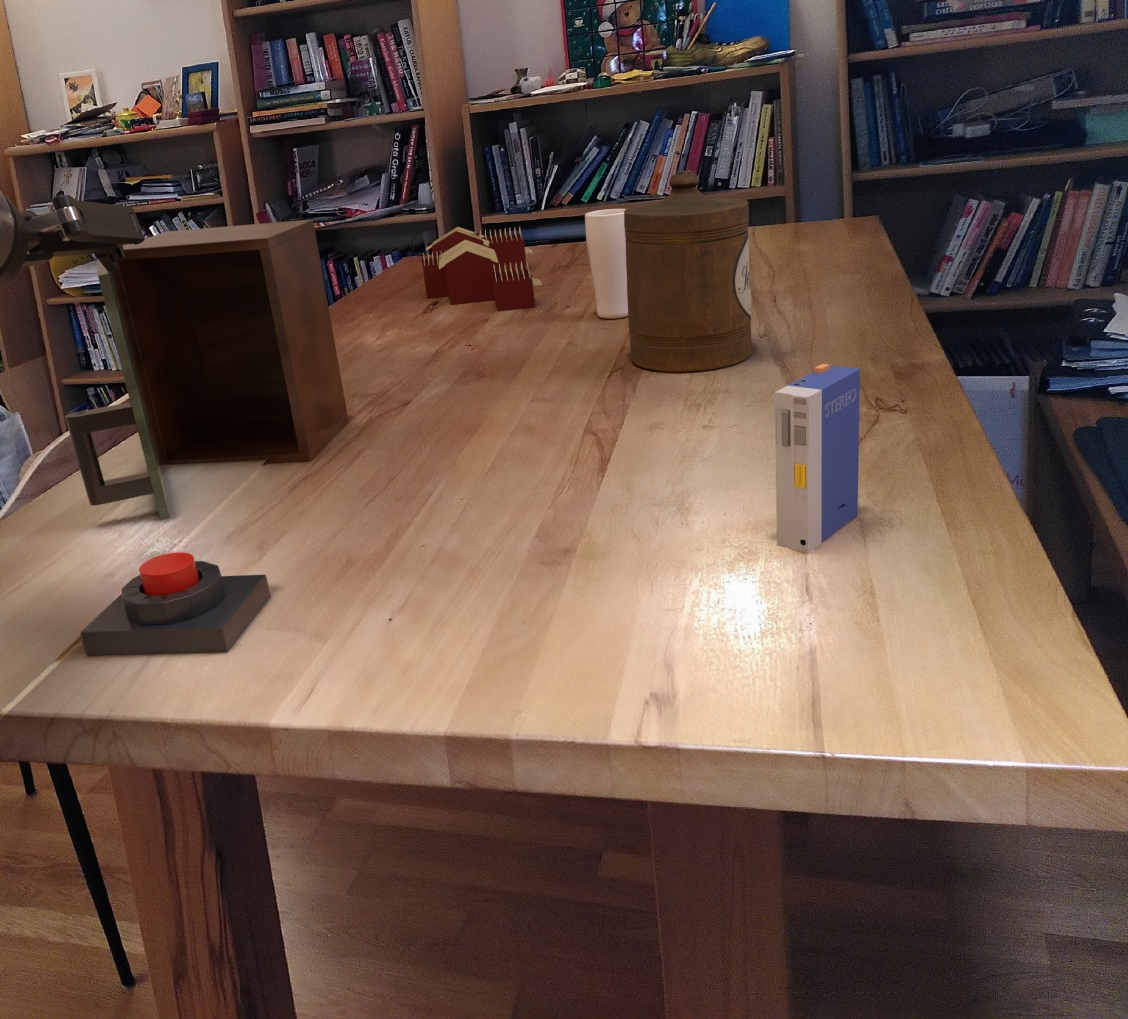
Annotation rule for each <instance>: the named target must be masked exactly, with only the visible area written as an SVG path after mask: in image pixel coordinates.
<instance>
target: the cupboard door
mask: <svg viewBox="0 0 1128 1019" xmlns="http://www.w3.org/2000/svg"><path fill="white" fill-rule="evenodd" d="M96 260H97V278H98V282H99V286H100V290H101V294H102V297H103V301H104V306H105V309H106V313H107V317H108V320H109V325H110V329H111V332H112V337H113V340H114V344H115V348H116V352H117V356H118V360H119V363H120V368H121V372H122V375H123V379H124V383H125V387H126V390H127V391H126V392H127V395H128V398H129V402H124V403H120V404H119V403H118V404H113V405H109V406H108V405H107V406H104V407H103V406H101V407H98V408H92V409H86V410H81V411H75V412H71V413H69V414H65V415H64V418H65V421H66V425H67V428H68V433H69V436H70V439H71V442H72V446H73V450H74V453H75V457H76V460H77V464H78V468H79V471H80V474H81V478H82V482H83V485H84V489H85V492H86V496H87V500H88V503H89V505H90V506H100V505H107V504H110V503H115V502H120V501H125V500H129V499H135V498H138V497H139V498H140V497H144V496H148V495H153V496H154V499H155V503H156V508H157V511H158V515H159V518H160V521H164V520H167V519H171V515H170V511H169V505H168V500H167V499H168V498H167V494H166V489H165V484H164V479H163V474H162V469H161V465H159V461H158V457H157V453H156V449H155V445H154V441H153V437H152V433H151V429H150V425H149V421H148V417H147V413H146V409H145V405H144V401H143V397H142V393H141V389H140V385H139V381H138V377H137V374H136V370H135V366H134V362H133V358H132V354H131V350H130V346H129V342H128V338H127V334H126V330H125V326H124V322H123V318H122V314H121V310H120V306H119V302H118V298H117V294H116V290H115V286H114V282H113V278H112V274H111V271H109V272H108V271H107V270H106V269H105V268H104V266H103V265H102V264H101V262H100V261H99V260H98V259H97V258H96ZM133 425H135V426H136V429H137V433H138V437H139V442H140V445H141V449H142V454H143V457H144V461H145V464H146V468H147V471H145V472H140V473H135V474H131V475H125V476H120V477H116V478H110V479H106V480H105V479H104V475H103V472H102V469H101V465H100V461H99V458H98V454H97V450H96V446H95V443H94V439H93V436H92V433H96V432H103V431H108V430H113V429H117V428H122V427H128V426H133Z"/></svg>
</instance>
